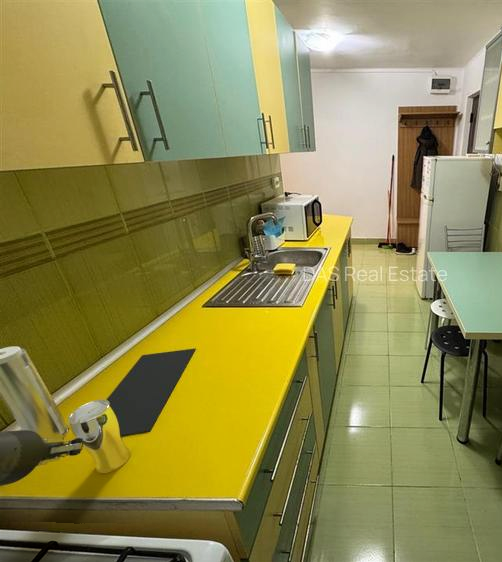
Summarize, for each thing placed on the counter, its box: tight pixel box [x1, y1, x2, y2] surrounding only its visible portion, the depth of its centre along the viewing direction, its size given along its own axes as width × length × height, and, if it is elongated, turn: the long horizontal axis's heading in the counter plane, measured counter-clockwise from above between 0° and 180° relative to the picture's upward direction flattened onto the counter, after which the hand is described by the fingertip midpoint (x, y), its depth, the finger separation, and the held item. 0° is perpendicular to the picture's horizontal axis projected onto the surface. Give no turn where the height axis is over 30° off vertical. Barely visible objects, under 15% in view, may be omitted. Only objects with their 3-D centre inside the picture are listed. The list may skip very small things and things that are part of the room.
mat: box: [74, 347, 197, 439], centre depth 90 cm, size 17×36×1 cm, turn 13°
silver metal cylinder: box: [0, 346, 70, 440], centre depth 70 cm, size 6×6×25 cm
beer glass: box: [67, 399, 131, 474], centre depth 66 cm, size 7×7×15 cm
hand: (77, 447), depth 59 cm, fingers closed
